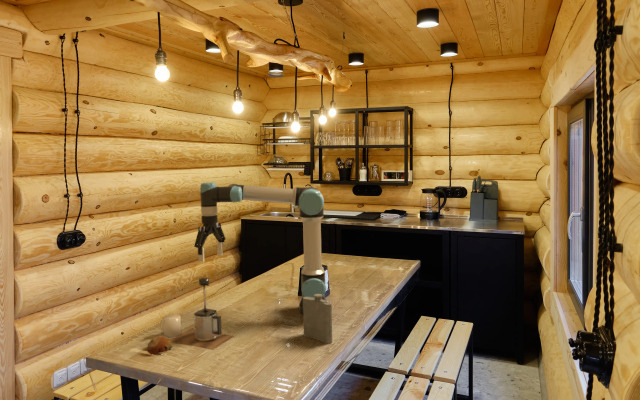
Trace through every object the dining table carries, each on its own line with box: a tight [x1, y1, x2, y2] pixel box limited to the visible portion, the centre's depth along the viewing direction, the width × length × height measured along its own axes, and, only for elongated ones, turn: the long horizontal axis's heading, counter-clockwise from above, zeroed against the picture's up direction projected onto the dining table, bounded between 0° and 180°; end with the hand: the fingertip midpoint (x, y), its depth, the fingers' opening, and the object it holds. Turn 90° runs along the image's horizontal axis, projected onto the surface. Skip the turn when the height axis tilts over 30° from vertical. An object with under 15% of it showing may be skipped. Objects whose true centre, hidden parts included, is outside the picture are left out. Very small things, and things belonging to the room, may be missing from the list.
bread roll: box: [147, 335, 174, 356], centre depth 209 cm, size 10×10×8 cm
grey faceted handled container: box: [193, 308, 223, 341], centre depth 219 cm, size 13×10×12 cm
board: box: [170, 327, 235, 351], centre depth 219 cm, size 24×16×1 cm, turn 65°
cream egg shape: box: [160, 314, 182, 338], centre depth 224 cm, size 9×8×9 cm
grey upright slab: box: [302, 294, 333, 345], centre depth 218 cm, size 16×4×20 cm, turn 49°
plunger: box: [198, 277, 213, 317], centre depth 218 cm, size 7×7×18 cm
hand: (211, 258), depth 239 cm, fingers open, 13 cm apart
